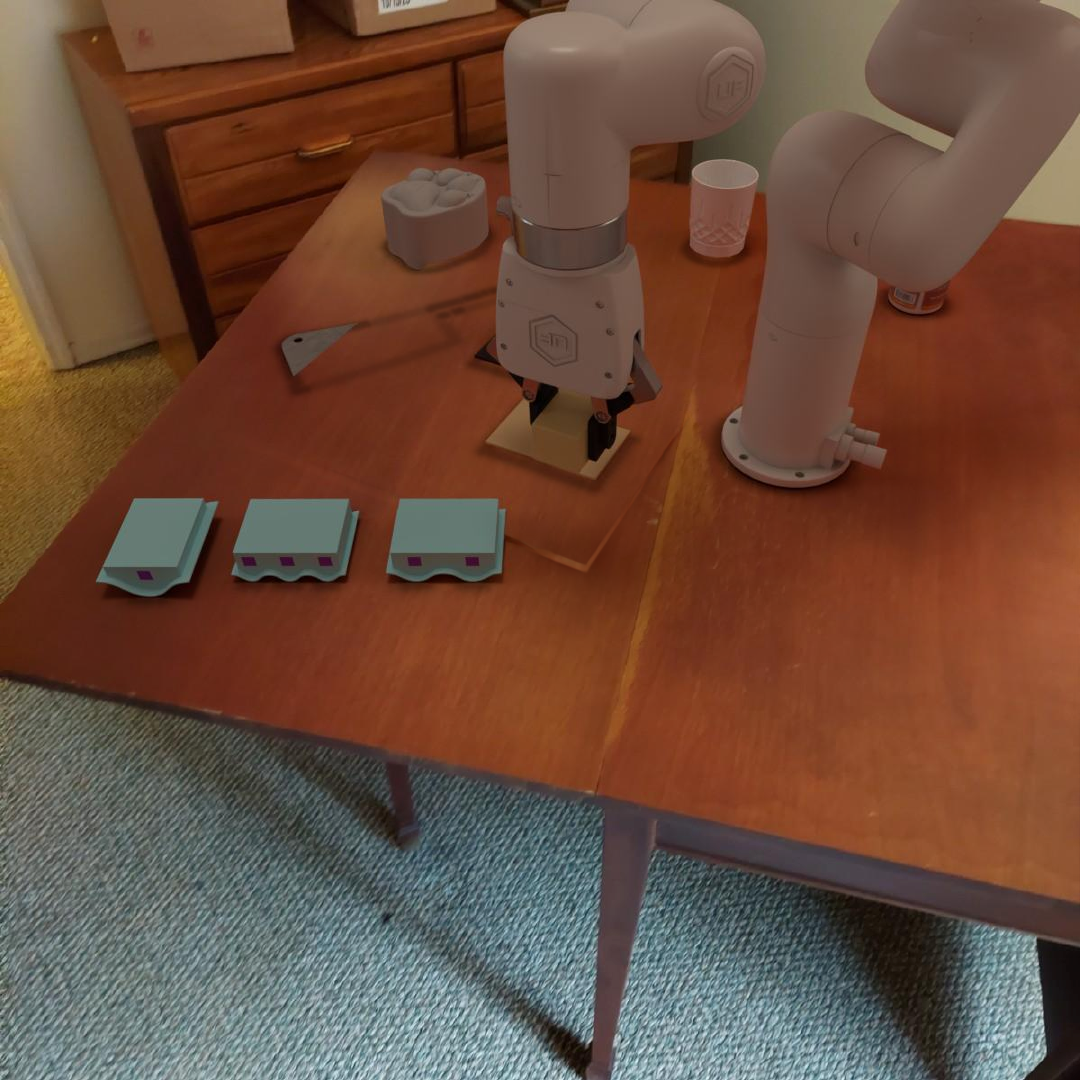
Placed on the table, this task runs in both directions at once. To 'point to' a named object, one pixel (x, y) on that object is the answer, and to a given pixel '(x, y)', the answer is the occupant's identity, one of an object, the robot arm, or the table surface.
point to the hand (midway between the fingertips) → (573, 440)
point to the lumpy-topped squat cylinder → (435, 215)
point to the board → (518, 440)
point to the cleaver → (310, 346)
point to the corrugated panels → (303, 541)
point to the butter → (563, 431)
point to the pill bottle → (918, 299)
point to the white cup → (721, 206)
